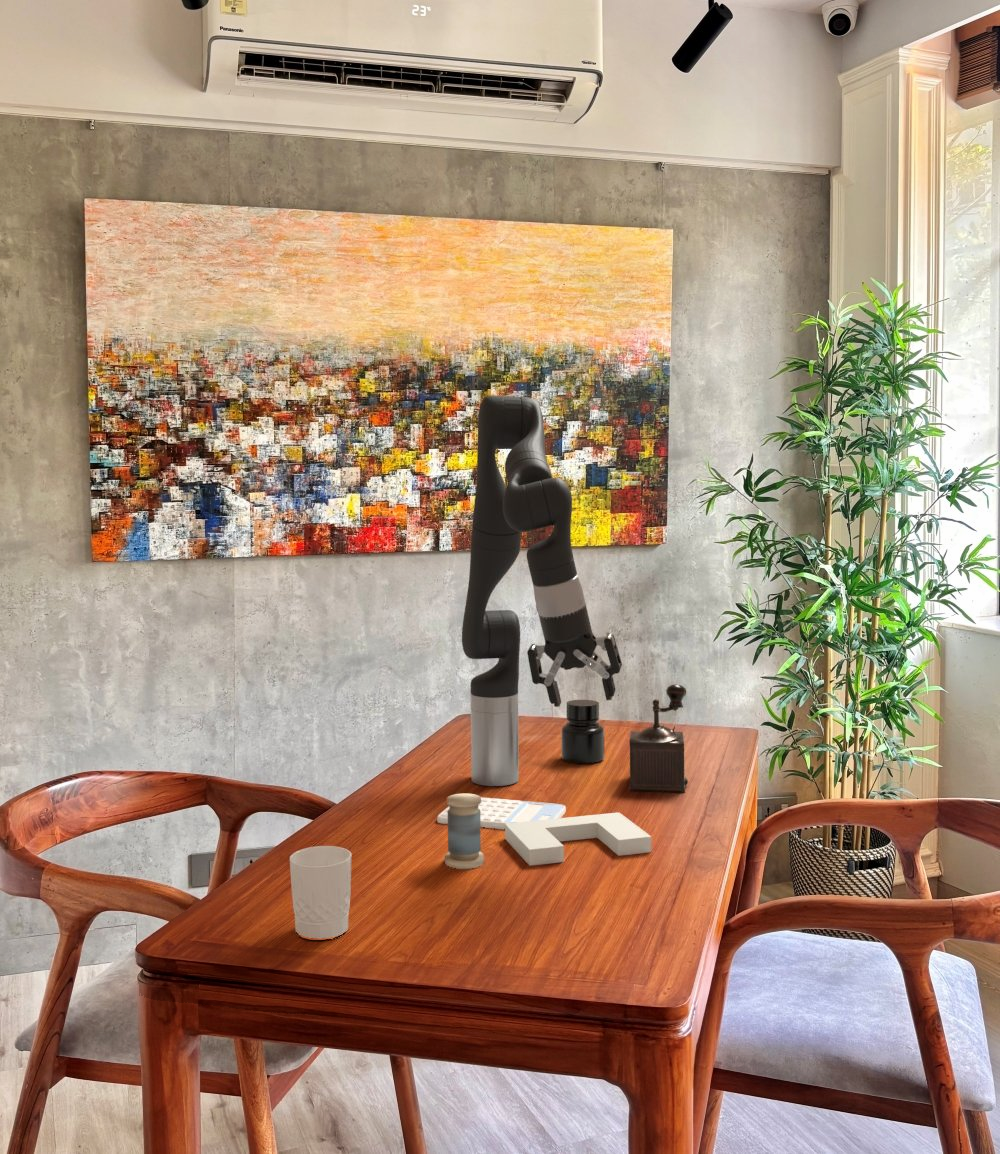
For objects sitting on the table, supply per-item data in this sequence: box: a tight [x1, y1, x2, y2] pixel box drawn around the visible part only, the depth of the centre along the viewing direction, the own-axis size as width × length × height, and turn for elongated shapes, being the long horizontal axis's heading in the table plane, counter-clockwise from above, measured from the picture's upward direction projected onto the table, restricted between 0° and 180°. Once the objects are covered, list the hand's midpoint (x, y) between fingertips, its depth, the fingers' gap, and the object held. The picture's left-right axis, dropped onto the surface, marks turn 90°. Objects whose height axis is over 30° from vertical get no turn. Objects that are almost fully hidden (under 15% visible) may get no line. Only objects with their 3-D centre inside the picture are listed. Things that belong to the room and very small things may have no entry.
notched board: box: [504, 811, 652, 867], centre depth 172 cm, size 13×20×2 cm, turn 106°
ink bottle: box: [560, 699, 605, 765], centre depth 225 cm, size 10×9×12 cm
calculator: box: [436, 796, 567, 830], centre depth 187 cm, size 13×20×2 cm, turn 73°
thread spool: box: [444, 793, 485, 870], centre depth 164 cm, size 6×6×10 cm
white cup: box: [289, 845, 353, 939], centre depth 139 cm, size 8×8×10 cm
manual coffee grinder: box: [629, 684, 689, 794], centre depth 208 cm, size 16×11×18 cm
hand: (583, 701), depth 171 cm, fingers open, 8 cm apart
